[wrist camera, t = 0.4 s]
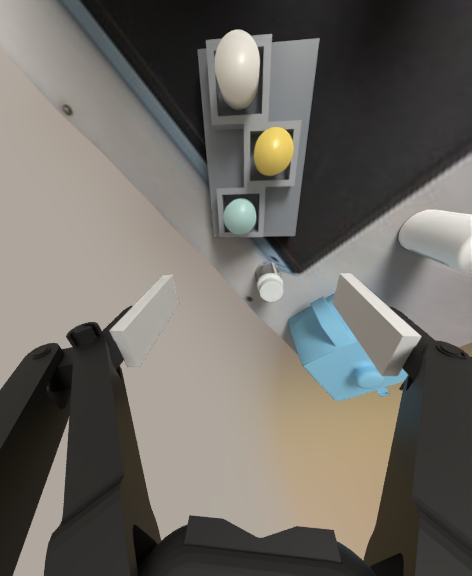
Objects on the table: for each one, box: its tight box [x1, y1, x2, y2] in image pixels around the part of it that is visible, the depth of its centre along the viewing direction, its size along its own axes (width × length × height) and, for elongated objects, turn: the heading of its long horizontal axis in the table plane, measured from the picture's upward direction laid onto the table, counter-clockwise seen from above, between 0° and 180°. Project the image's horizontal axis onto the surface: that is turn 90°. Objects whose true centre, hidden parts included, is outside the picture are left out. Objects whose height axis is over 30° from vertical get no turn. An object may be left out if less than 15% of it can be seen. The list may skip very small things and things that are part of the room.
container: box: [288, 293, 408, 401], centre depth 37 cm, size 17×25×15 cm
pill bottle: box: [256, 261, 283, 302], centre depth 35 cm, size 5×5×8 cm
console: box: [197, 34, 320, 238], centre depth 27 cm, size 22×14×6 cm, turn 2°
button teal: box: [223, 198, 256, 235], centre depth 26 cm, size 4×4×4 cm
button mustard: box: [254, 127, 294, 176], centre depth 23 cm, size 4×4×4 cm
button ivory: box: [214, 30, 260, 110], centre depth 20 cm, size 4×4×4 cm
